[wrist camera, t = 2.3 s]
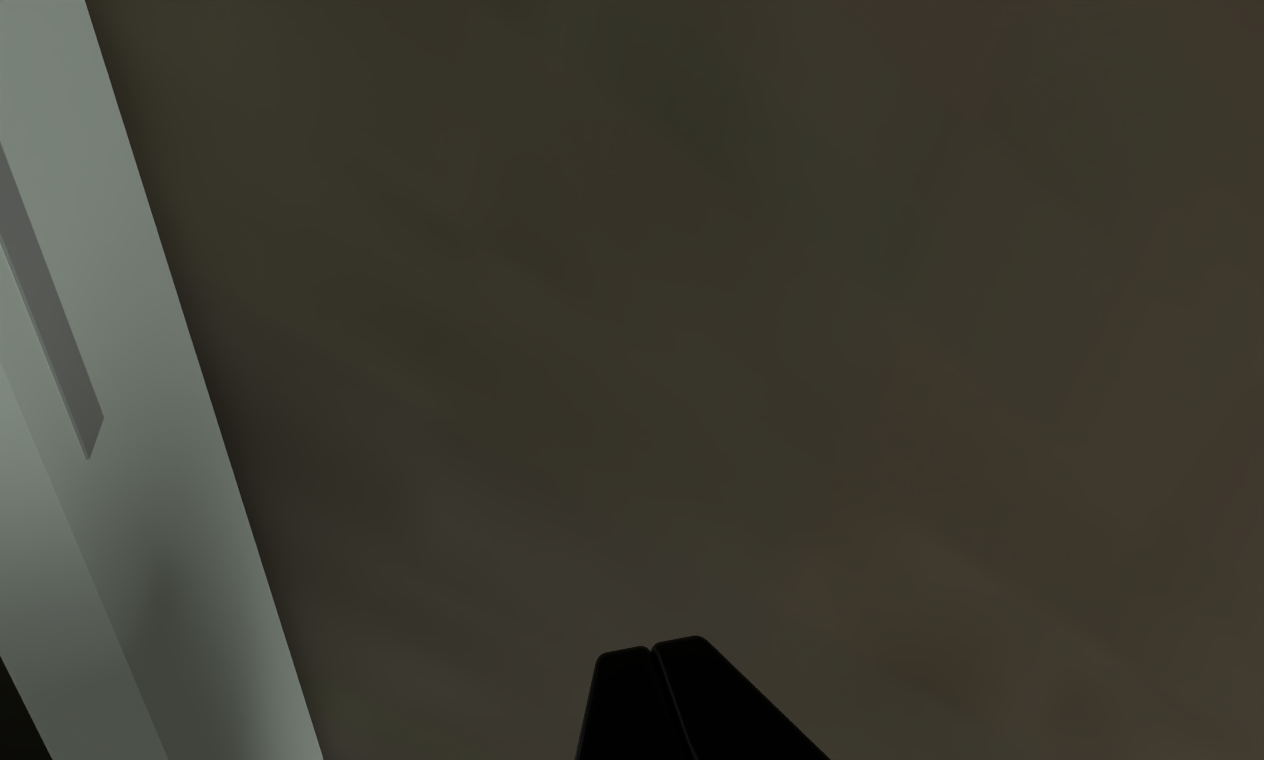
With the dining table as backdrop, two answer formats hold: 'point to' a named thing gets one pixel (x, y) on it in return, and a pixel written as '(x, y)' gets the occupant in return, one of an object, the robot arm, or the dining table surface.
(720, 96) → the dining table surface
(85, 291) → the door
